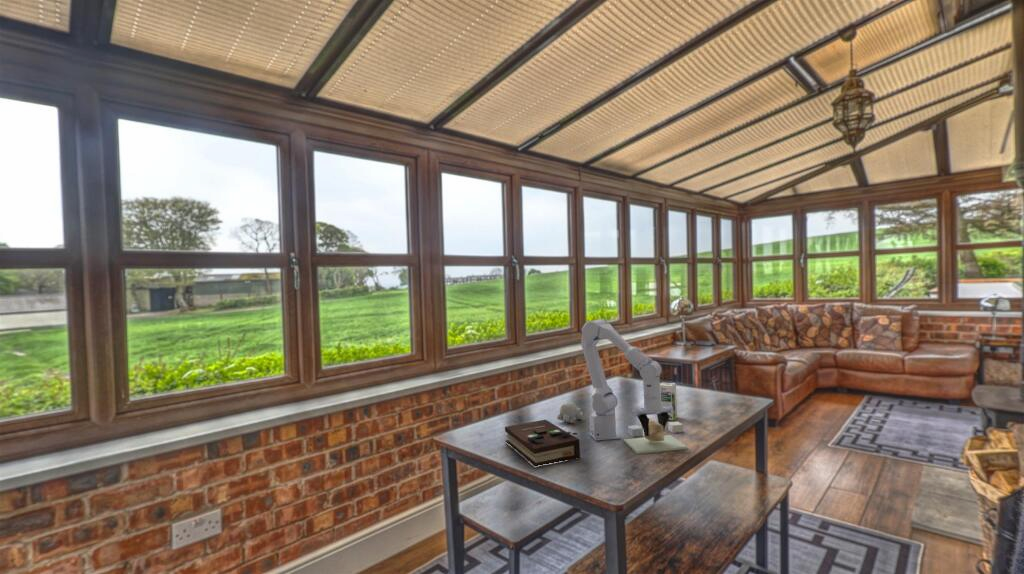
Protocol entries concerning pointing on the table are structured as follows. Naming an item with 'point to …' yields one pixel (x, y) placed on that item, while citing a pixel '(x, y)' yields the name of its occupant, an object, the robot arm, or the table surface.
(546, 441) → the decorative book
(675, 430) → the light grey block
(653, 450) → the sage board
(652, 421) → the terracotta block
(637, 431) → the grey-blue block
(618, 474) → the table surface
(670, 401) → the syrup box
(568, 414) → the toy rhinoceros
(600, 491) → the table surface
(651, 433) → the maple block
